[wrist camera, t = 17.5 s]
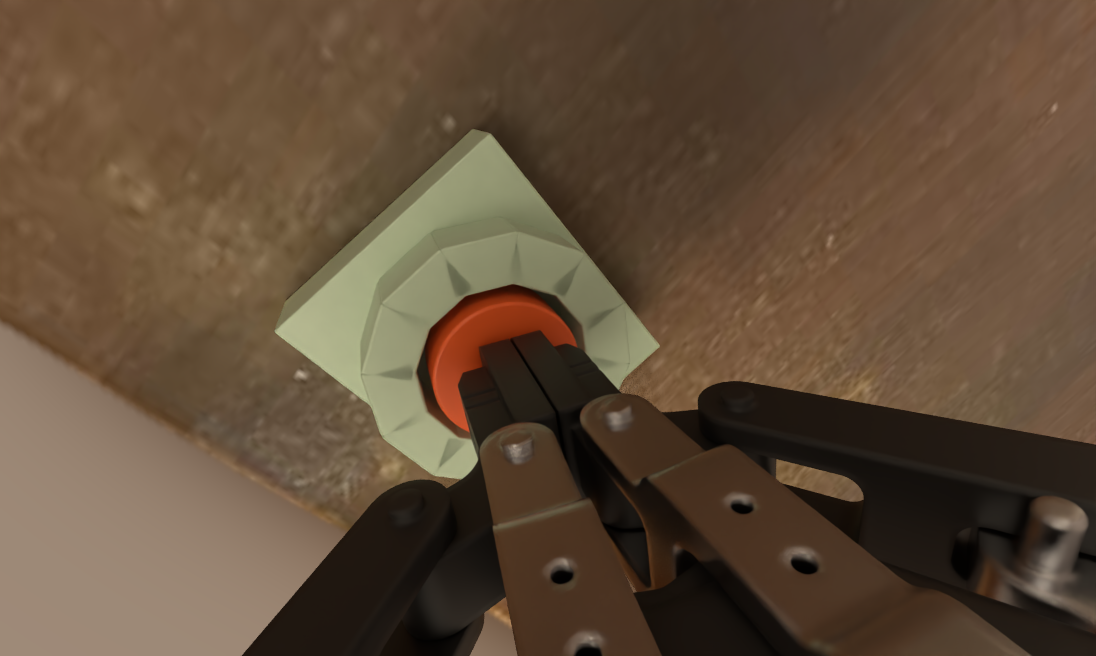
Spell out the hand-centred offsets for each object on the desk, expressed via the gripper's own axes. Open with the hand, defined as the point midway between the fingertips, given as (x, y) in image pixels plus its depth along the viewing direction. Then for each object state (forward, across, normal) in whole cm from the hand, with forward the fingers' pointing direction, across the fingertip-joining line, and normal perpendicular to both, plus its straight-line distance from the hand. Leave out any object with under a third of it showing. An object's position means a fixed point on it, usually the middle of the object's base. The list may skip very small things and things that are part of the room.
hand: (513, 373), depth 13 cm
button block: (+4, 0, 0) cm, 4 cm away
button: (+2, 0, 0) cm, 2 cm away
